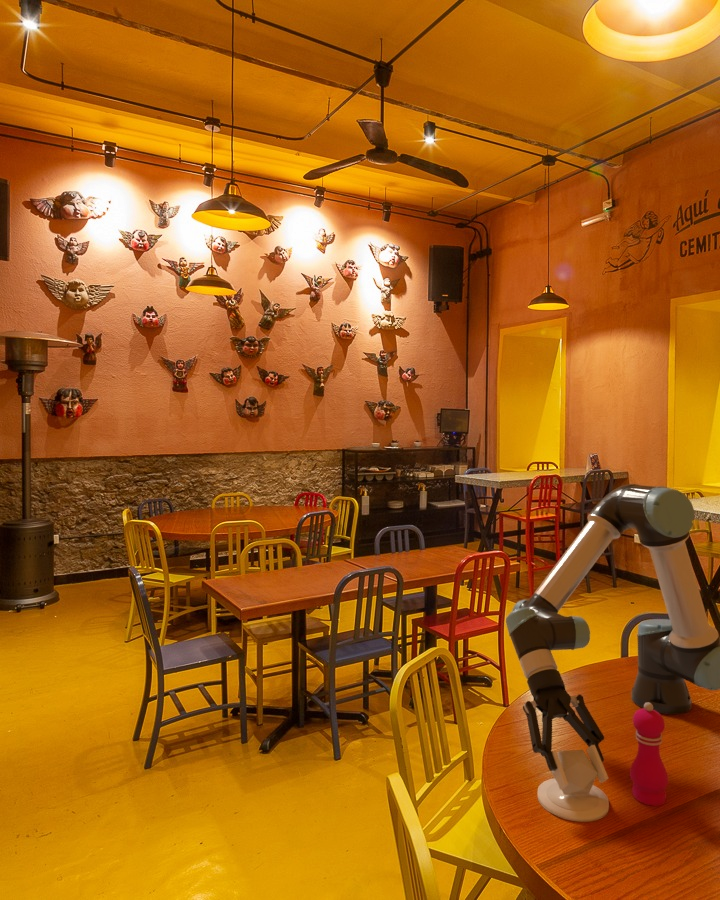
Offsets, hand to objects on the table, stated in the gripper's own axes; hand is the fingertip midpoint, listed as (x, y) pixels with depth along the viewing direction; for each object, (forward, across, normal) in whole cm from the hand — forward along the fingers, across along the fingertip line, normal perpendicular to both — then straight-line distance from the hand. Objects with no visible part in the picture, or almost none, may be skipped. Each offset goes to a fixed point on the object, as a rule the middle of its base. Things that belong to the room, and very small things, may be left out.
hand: (584, 783), depth 125 cm
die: (0, 0, -6) cm, 6 cm away
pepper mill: (+4, -16, -5) cm, 17 cm away
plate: (+1, 0, -7) cm, 7 cm away
